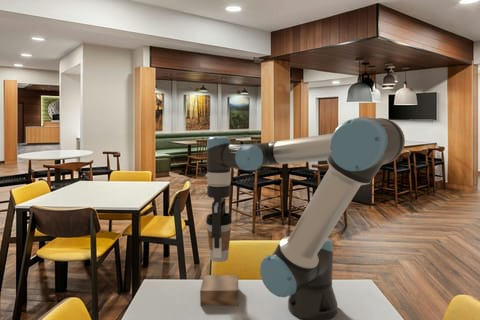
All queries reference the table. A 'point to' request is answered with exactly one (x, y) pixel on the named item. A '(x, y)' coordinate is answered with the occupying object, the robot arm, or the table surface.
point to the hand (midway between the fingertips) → (219, 252)
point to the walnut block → (219, 290)
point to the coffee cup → (225, 236)
